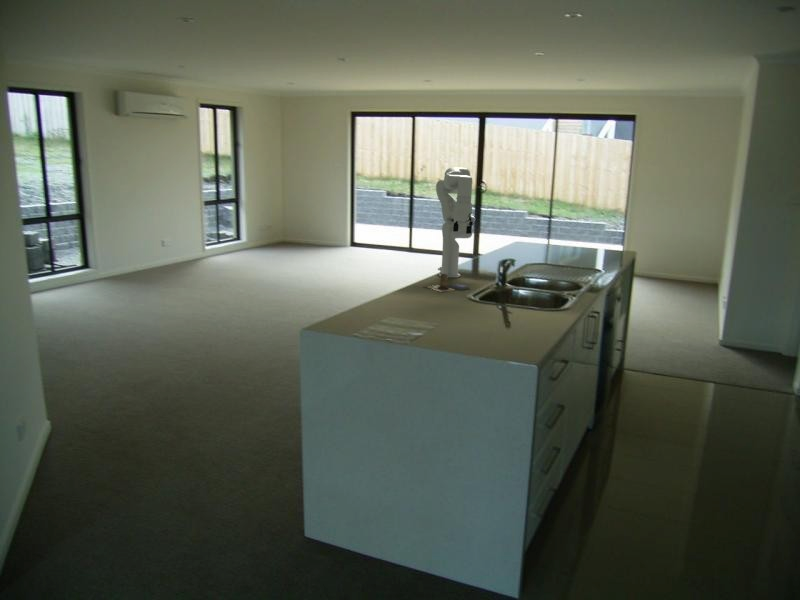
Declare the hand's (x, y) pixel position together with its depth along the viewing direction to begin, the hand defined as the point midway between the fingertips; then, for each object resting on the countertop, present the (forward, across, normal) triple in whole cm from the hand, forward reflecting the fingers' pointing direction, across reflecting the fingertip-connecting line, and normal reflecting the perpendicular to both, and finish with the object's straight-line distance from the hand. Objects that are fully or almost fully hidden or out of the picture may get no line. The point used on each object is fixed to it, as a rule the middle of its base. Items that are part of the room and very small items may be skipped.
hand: (462, 232), depth 337 cm
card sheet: (+28, +2, -17) cm, 33 cm away
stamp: (+28, +6, -17) cm, 33 cm away
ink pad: (+28, +7, -7) cm, 30 cm away
